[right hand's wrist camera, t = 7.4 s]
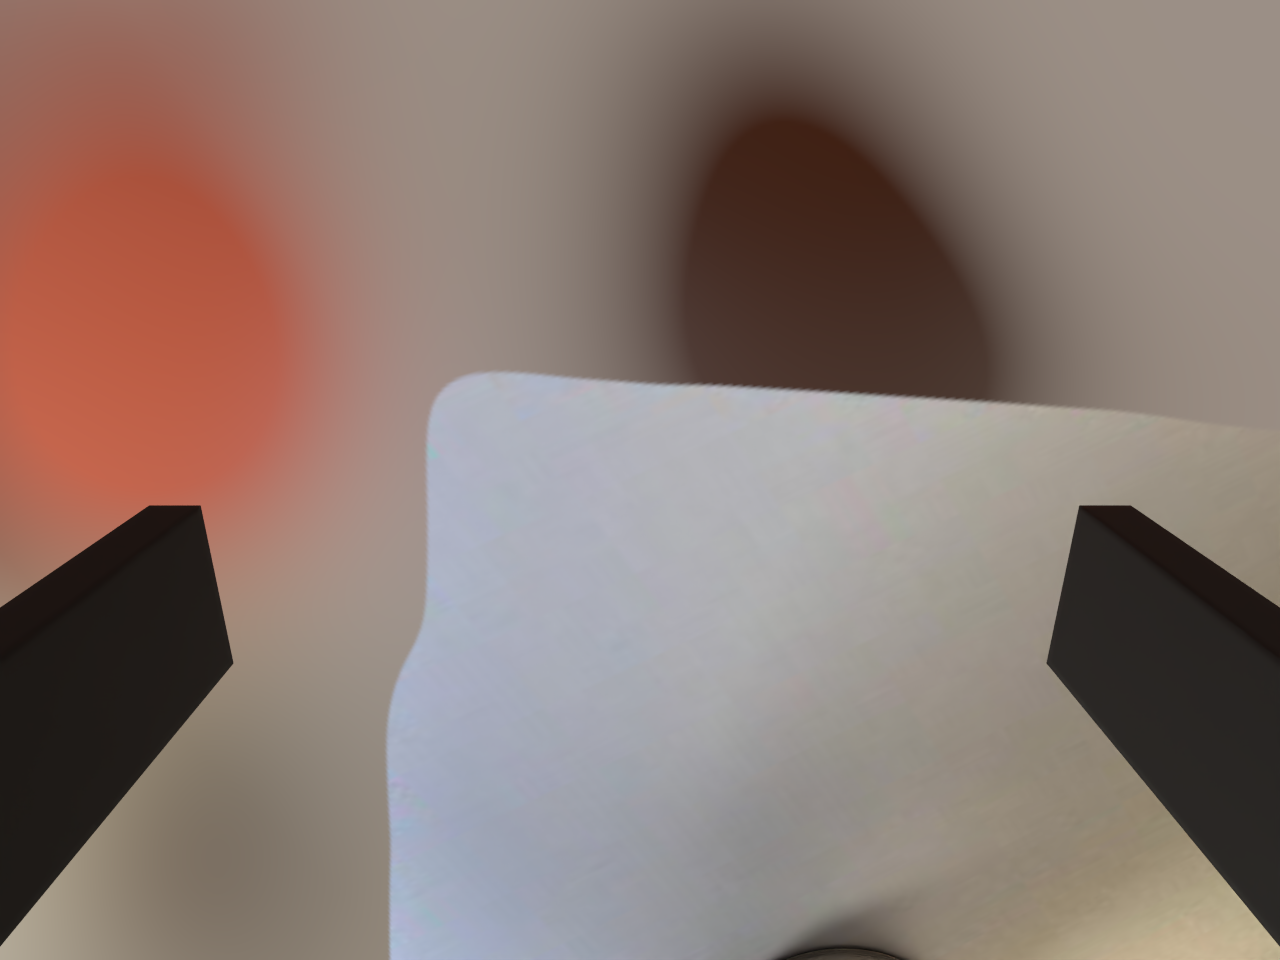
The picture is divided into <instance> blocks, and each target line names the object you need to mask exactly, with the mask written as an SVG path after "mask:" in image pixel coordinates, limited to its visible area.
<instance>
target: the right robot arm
mask: <svg viewBox="0 0 1280 960" xmlns="http://www.w3.org/2000/svg"><path fill="white" fill-rule="evenodd" d="M232 664H233V659H232V654H231V650H230V645H229V640H228V635H227V630H226V625H225V621H224V616H223V611H222V606H221V601H220V596H219V592H218V587H217V582H216V577H215V572H214V568H213V563H212V558H211V553H210V548H209V544H208V539H207V534H206V529H205V524H204V520H203V515H202V510H201V506H148V507H146V508H145V509H144V510H142V511H141V512H139V513H138V514H136V515H135V516H133V517H132V518H130V519H129V520H127V521H126V522H125V523H123V524H122V525H120V526H119V527H117V528H116V529H114V530H113V531H112V532H110V533H109V534H107V535H106V536H104V537H103V538H101V539H100V540H98V541H97V542H95V543H94V544H92V545H91V546H90V547H88V548H87V549H85V550H84V551H82V552H81V553H79V554H78V555H76V556H75V557H73V558H72V559H71V560H69V561H68V562H66V563H65V564H63V565H62V566H60V567H59V568H57V569H56V570H54V571H53V572H52V573H50V574H49V575H47V576H46V577H44V578H43V579H41V580H40V581H38V582H37V583H35V584H34V585H33V586H31V587H30V588H28V589H27V590H25V591H24V592H22V593H21V594H19V595H18V596H16V597H15V598H14V599H12V600H11V601H9V602H8V603H6V604H5V605H3V606H2V607H0V946H1V945H2V944H3V942H4V941H5V940H6V939H7V938H8V936H9V935H10V934H11V933H12V931H13V930H14V929H15V928H16V926H17V925H18V924H19V923H20V922H21V921H22V919H23V918H24V917H25V916H26V914H27V913H28V912H29V911H30V910H31V908H32V907H33V906H34V905H35V903H36V902H37V901H38V900H39V899H40V897H41V896H42V895H43V894H44V893H45V891H46V890H47V889H48V888H49V886H50V885H51V884H52V883H53V882H54V880H55V879H56V878H57V877H58V876H59V874H60V873H61V872H62V871H63V870H64V868H65V867H66V866H67V865H68V863H69V862H70V861H71V860H72V859H73V857H74V856H75V855H76V854H77V853H78V851H79V850H80V849H81V848H82V846H83V845H84V844H85V843H86V842H87V840H88V839H89V838H90V837H91V836H92V834H93V833H94V832H95V831H96V829H97V828H98V827H99V826H100V825H101V823H102V822H103V821H104V820H105V819H106V817H107V816H108V815H109V814H110V812H111V811H112V810H113V809H114V808H115V806H116V805H117V804H118V803H119V801H120V800H121V799H122V798H123V797H124V795H125V794H126V793H127V792H128V791H129V789H130V788H131V787H132V786H133V785H134V783H135V782H136V781H137V780H138V778H139V777H140V776H141V775H142V774H143V772H144V771H145V770H146V769H147V768H148V766H149V765H150V764H151V763H152V761H153V760H154V759H155V758H156V757H157V755H158V754H159V753H160V752H161V751H162V749H163V748H164V747H165V746H166V745H167V743H168V742H169V741H170V740H171V738H172V737H173V736H174V735H175V734H176V732H177V731H178V730H179V729H180V727H181V726H182V725H183V724H184V723H185V721H186V720H187V719H188V718H189V716H190V715H191V714H192V713H193V712H194V711H195V709H196V708H197V707H198V706H199V704H200V703H201V702H202V701H203V700H204V698H205V697H206V696H207V695H208V694H209V692H210V691H211V690H212V689H213V687H214V686H215V685H216V684H217V683H218V681H219V680H220V679H221V678H222V677H223V675H224V674H225V673H226V672H227V670H228V669H229V668H230V667H231V666H232ZM1047 664H1048V666H1049V667H1050V668H1051V669H1052V670H1053V672H1054V673H1055V674H1056V675H1057V677H1058V678H1059V679H1060V680H1061V681H1062V683H1063V684H1064V685H1065V686H1066V687H1067V689H1068V690H1069V691H1070V692H1071V694H1072V695H1073V696H1074V697H1075V698H1076V700H1077V701H1078V702H1079V703H1080V704H1081V706H1082V707H1083V708H1084V709H1085V711H1086V712H1087V713H1088V714H1089V715H1090V717H1091V718H1092V719H1093V720H1094V721H1095V723H1096V724H1097V725H1098V726H1099V728H1100V729H1101V730H1102V731H1103V732H1104V734H1105V735H1106V736H1107V737H1108V738H1109V740H1110V741H1111V742H1112V743H1113V745H1114V746H1115V747H1116V748H1117V749H1118V751H1119V752H1120V753H1121V754H1122V755H1123V757H1124V758H1125V759H1126V760H1127V761H1128V763H1129V764H1130V765H1131V766H1132V768H1133V769H1134V770H1135V771H1136V772H1137V774H1138V775H1139V776H1140V777H1141V778H1142V780H1143V781H1144V782H1145V783H1146V785H1147V786H1148V787H1149V788H1150V789H1151V791H1152V792H1153V793H1154V794H1155V795H1156V797H1157V798H1158V799H1159V800H1160V802H1161V803H1162V804H1163V805H1164V806H1165V808H1166V809H1167V810H1168V811H1169V812H1170V814H1171V815H1172V816H1173V817H1174V819H1175V820H1176V821H1177V822H1178V823H1179V825H1180V826H1181V827H1182V828H1183V829H1184V831H1185V832H1186V833H1187V834H1188V836H1189V837H1190V838H1191V839H1192V840H1193V842H1194V843H1195V844H1196V845H1197V846H1198V848H1199V849H1200V850H1201V851H1202V853H1203V854H1204V855H1205V856H1206V857H1207V859H1208V860H1209V861H1210V862H1211V863H1212V865H1213V866H1214V867H1215V868H1216V870H1217V871H1218V872H1219V873H1220V874H1221V876H1222V877H1223V878H1224V879H1225V880H1226V882H1227V883H1228V884H1229V885H1230V887H1231V888H1232V889H1233V890H1234V891H1235V893H1236V894H1237V895H1238V896H1239V897H1240V899H1241V900H1242V901H1243V902H1244V904H1245V905H1246V906H1247V907H1248V908H1249V910H1250V911H1251V912H1252V913H1253V914H1254V916H1255V917H1256V918H1257V919H1258V921H1259V922H1260V923H1261V924H1262V925H1263V927H1264V928H1265V929H1266V930H1267V931H1268V933H1269V934H1270V935H1271V936H1272V938H1273V939H1274V940H1275V941H1276V942H1277V944H1278V945H1279V946H1280V607H1278V606H1277V605H1275V604H1274V603H1272V602H1271V601H1269V600H1268V599H1266V598H1265V597H1264V596H1262V595H1261V594H1259V593H1258V592H1256V591H1255V590H1253V589H1252V588H1250V587H1249V586H1247V585H1246V584H1245V583H1243V582H1242V581H1240V580H1239V579H1237V578H1236V577H1234V576H1233V575H1231V574H1230V573H1228V572H1227V571H1226V570H1224V569H1223V568H1221V567H1220V566H1218V565H1217V564H1215V563H1214V562H1212V561H1211V560H1209V559H1208V558H1207V557H1205V556H1204V555H1202V554H1201V553H1199V552H1198V551H1196V550H1195V549H1193V548H1192V547H1190V546H1189V545H1188V544H1186V543H1185V542H1183V541H1182V540H1180V539H1179V538H1177V537H1176V536H1174V535H1173V534H1171V533H1170V532H1169V531H1167V530H1166V529H1164V528H1163V527H1161V526H1160V525H1158V524H1157V523H1155V522H1154V521H1153V520H1151V519H1150V518H1148V517H1147V516H1145V515H1144V514H1142V513H1141V512H1139V511H1138V510H1136V509H1135V508H1134V507H1132V506H1079V510H1078V515H1077V520H1076V524H1075V529H1074V534H1073V539H1072V544H1071V548H1070V553H1069V558H1068V563H1067V568H1066V572H1065V577H1064V582H1063V587H1062V592H1061V596H1060V601H1059V606H1058V611H1057V616H1056V620H1055V625H1054V630H1053V635H1052V640H1051V645H1050V649H1049V654H1048V659H1047ZM786 960H900V959H898V958H895V957H892V956H889V955H886V954H883V953H879V952H874V951H869V950H861V949H845V948H843V949H827V950H819V951H813V952H808V953H805V954H801V955H797V956H794V957H791V958H788V959H786Z"/></svg>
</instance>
